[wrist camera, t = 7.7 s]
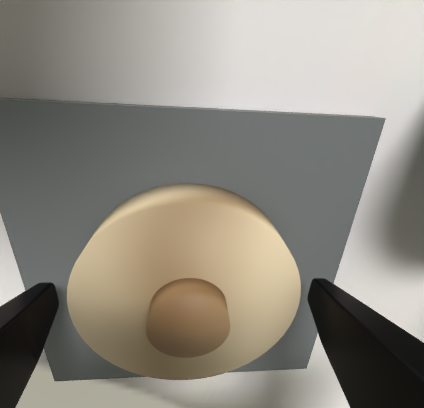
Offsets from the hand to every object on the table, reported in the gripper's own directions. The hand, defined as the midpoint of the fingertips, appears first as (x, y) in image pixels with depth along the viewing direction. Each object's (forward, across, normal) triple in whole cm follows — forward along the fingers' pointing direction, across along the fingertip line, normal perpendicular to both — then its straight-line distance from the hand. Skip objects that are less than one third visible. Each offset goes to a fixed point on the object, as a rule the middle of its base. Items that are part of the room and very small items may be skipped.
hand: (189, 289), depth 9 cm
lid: (+1, 0, 0) cm, 1 cm away
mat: (+1, 0, 0) cm, 1 cm away
